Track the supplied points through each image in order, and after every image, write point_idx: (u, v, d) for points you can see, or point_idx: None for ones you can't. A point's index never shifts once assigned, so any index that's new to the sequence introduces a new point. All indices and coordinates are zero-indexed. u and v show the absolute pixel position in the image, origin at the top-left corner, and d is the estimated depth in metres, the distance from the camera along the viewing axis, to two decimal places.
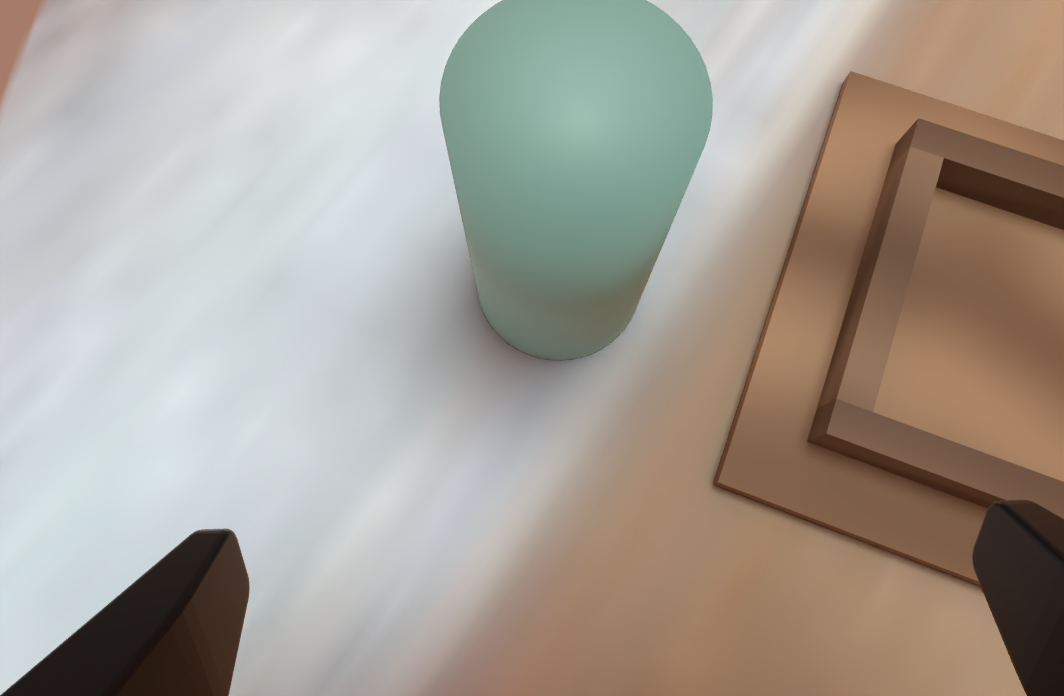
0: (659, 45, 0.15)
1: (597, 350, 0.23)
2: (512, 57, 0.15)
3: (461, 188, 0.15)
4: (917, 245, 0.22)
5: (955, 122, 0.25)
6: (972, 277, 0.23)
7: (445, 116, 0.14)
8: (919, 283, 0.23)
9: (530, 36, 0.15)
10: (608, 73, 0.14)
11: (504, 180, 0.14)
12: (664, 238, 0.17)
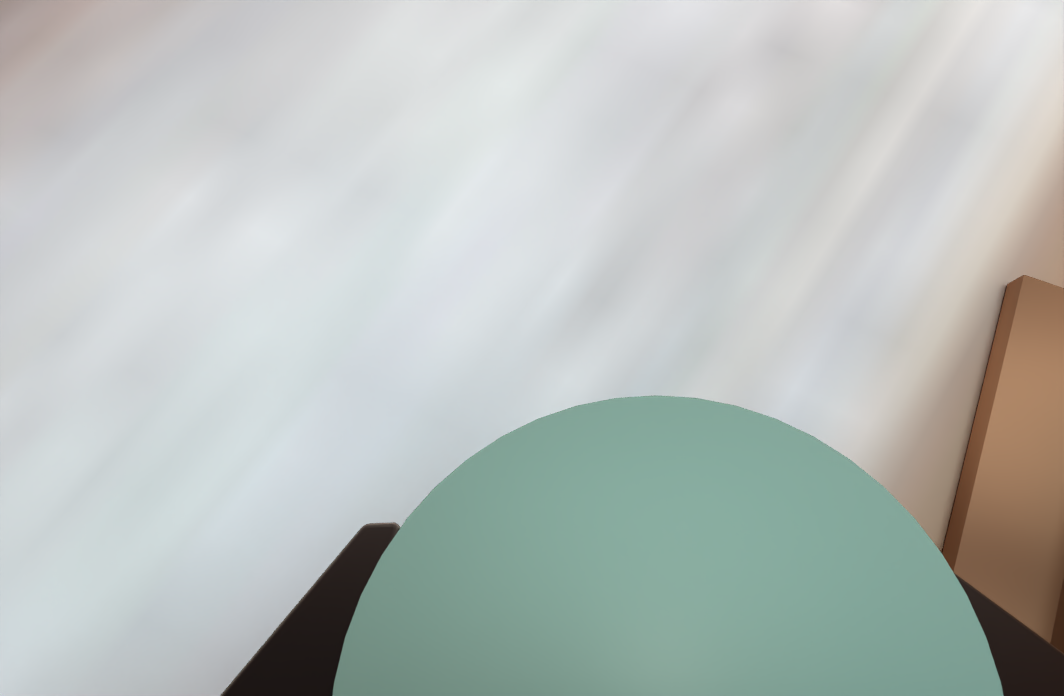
0: (867, 572, 0.06)
1: None
2: (508, 609, 0.06)
3: None
4: None
5: None
6: None
7: None
8: None
9: (553, 548, 0.06)
10: (746, 655, 0.06)
11: None
12: None
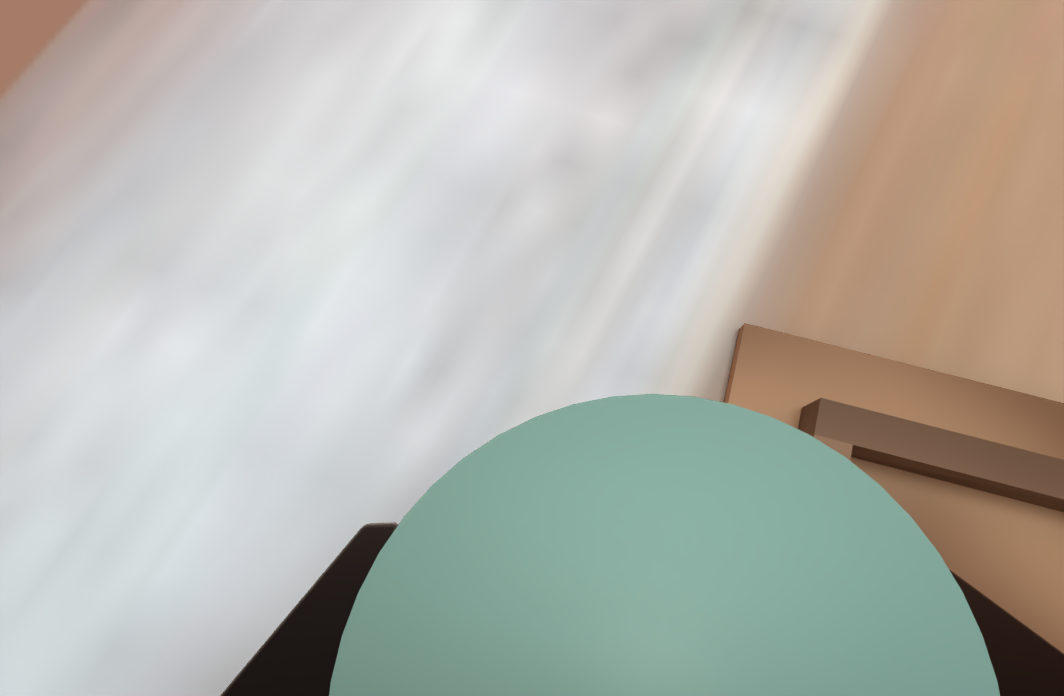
0: (863, 570, 0.06)
1: None
2: (507, 608, 0.06)
3: None
4: None
5: (865, 374, 0.22)
6: None
7: None
8: None
9: (550, 546, 0.06)
10: (742, 653, 0.06)
11: None
12: None
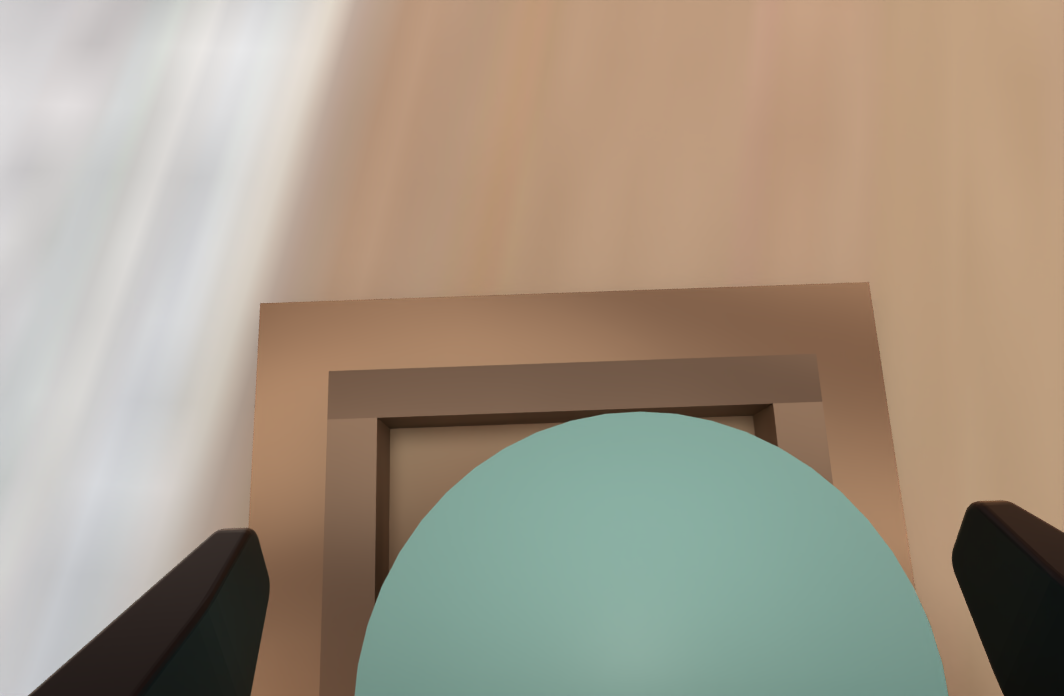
0: (826, 567, 0.07)
1: None
2: (512, 601, 0.07)
3: None
4: (371, 569, 0.15)
5: (416, 323, 0.18)
6: None
7: None
8: None
9: (550, 546, 0.07)
10: (719, 640, 0.07)
11: None
12: None
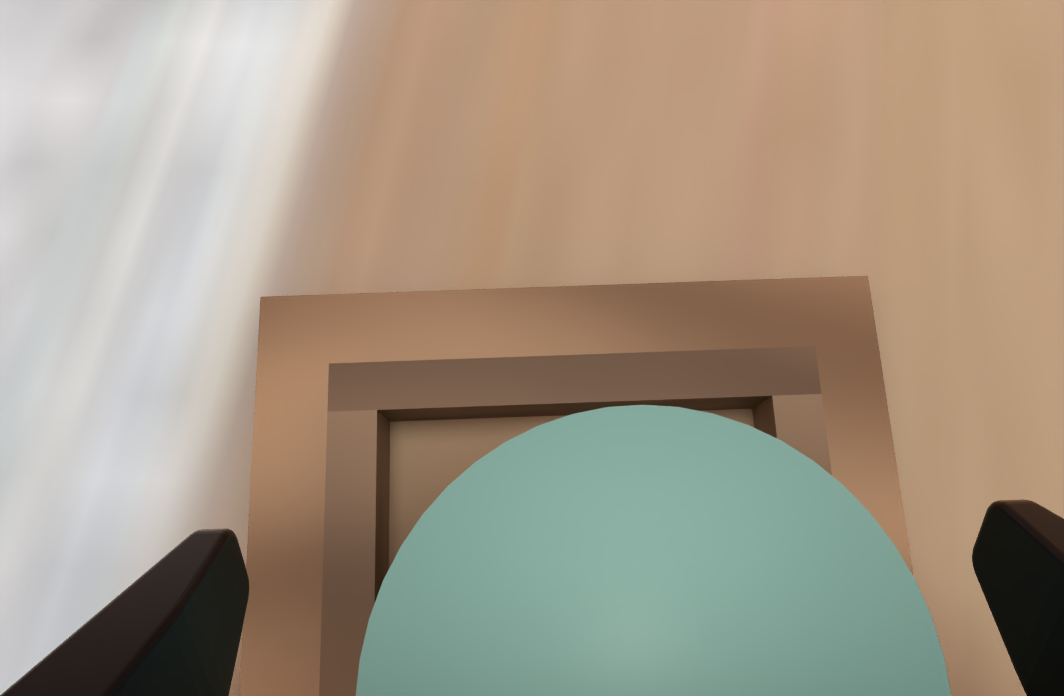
0: (828, 560, 0.07)
1: None
2: (513, 594, 0.07)
3: None
4: (371, 561, 0.15)
5: (416, 316, 0.18)
6: None
7: None
8: None
9: (552, 539, 0.07)
10: (720, 633, 0.07)
11: None
12: None
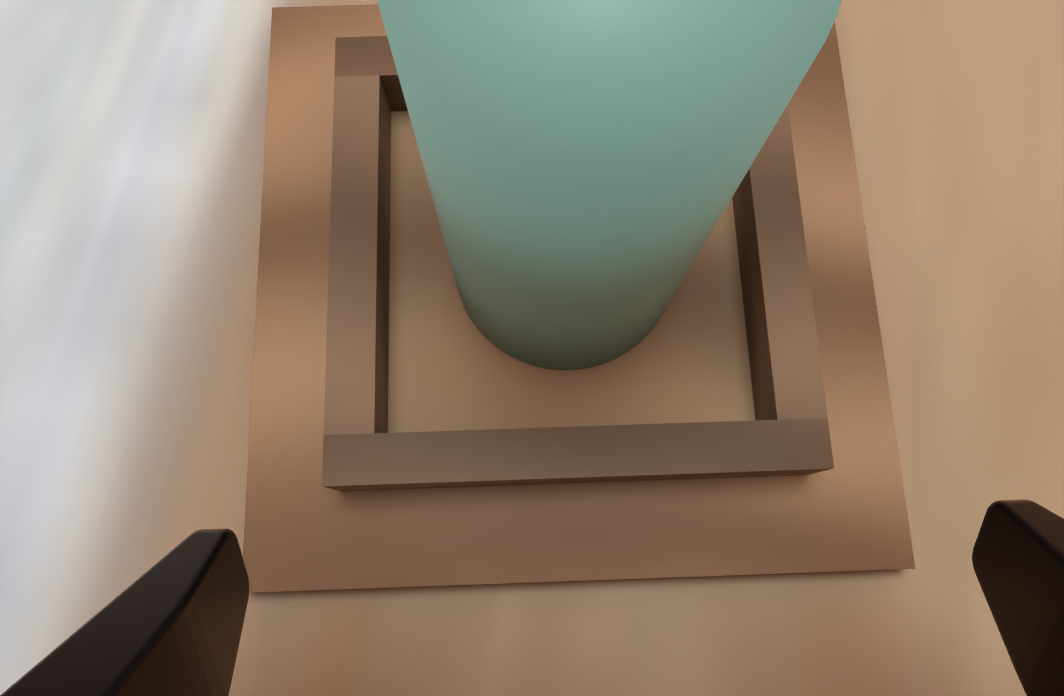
0: None
1: (617, 356, 0.17)
2: None
3: (412, 103, 0.09)
4: (374, 197, 0.17)
5: None
6: None
7: None
8: (425, 236, 0.18)
9: None
10: None
11: (484, 77, 0.08)
12: (733, 194, 0.11)
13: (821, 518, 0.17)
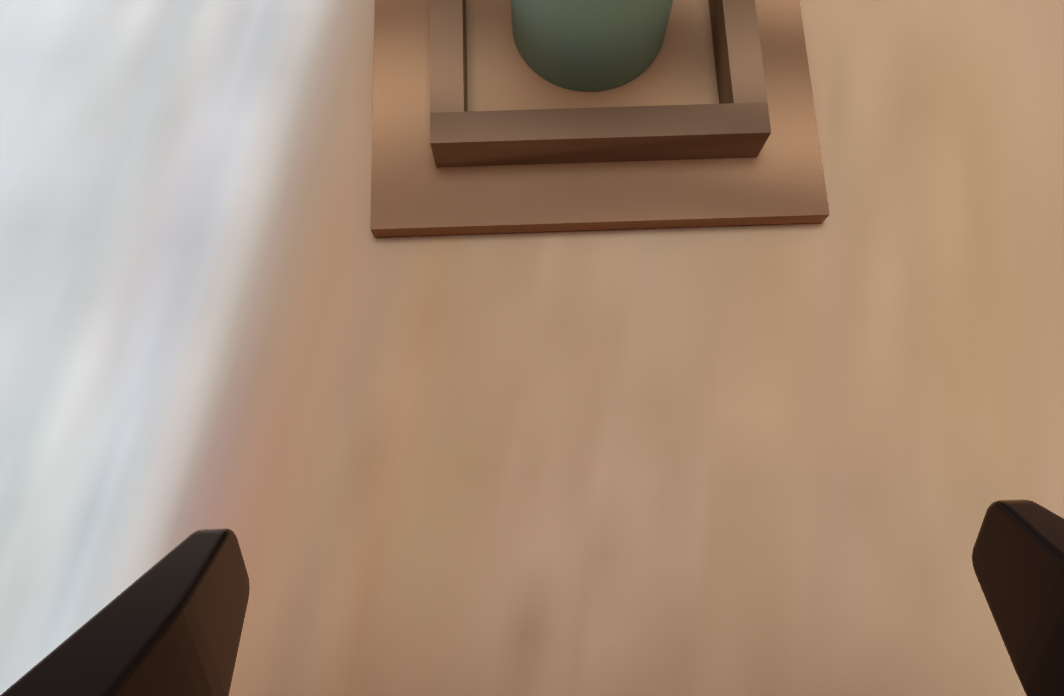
0: None
1: (626, 82, 0.25)
2: None
3: None
4: None
5: None
6: None
7: None
8: (490, 7, 0.26)
9: None
10: None
11: None
12: None
13: (766, 184, 0.24)
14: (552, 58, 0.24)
